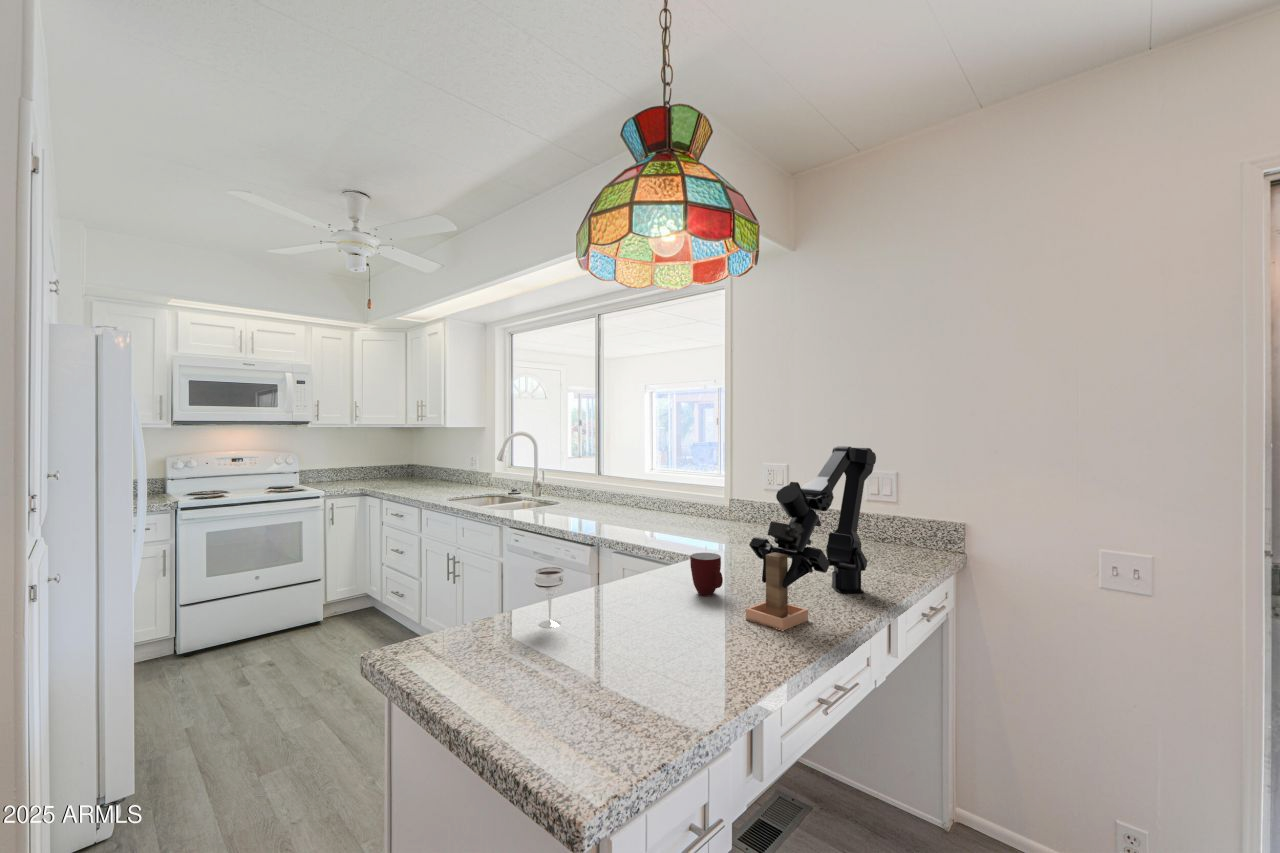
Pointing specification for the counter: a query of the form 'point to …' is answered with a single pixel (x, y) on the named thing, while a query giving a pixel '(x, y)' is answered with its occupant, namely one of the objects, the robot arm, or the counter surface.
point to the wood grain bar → (776, 585)
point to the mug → (706, 572)
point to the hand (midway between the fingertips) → (773, 584)
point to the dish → (760, 616)
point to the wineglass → (549, 588)
